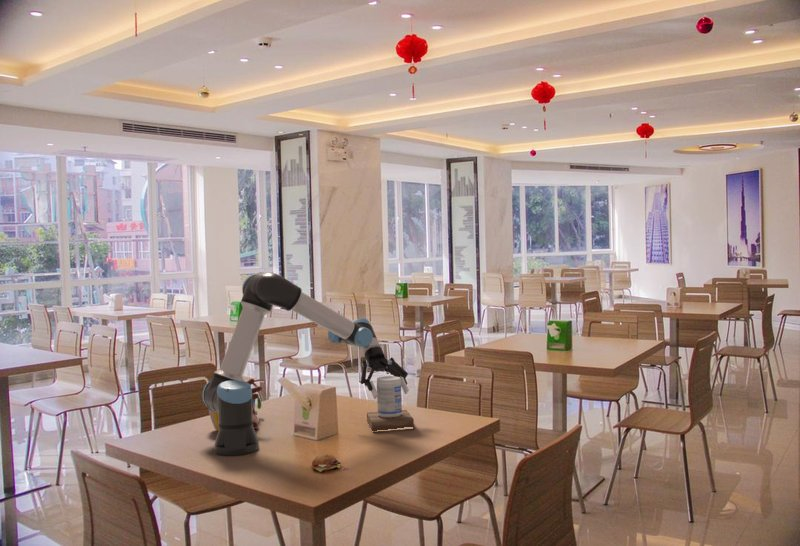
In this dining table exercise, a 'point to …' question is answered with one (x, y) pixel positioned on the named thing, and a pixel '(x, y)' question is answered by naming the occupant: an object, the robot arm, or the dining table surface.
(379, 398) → the supplement tub
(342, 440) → the dining table surface
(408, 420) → the walnut stand
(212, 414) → the bucket of meat
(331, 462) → the hamburger
